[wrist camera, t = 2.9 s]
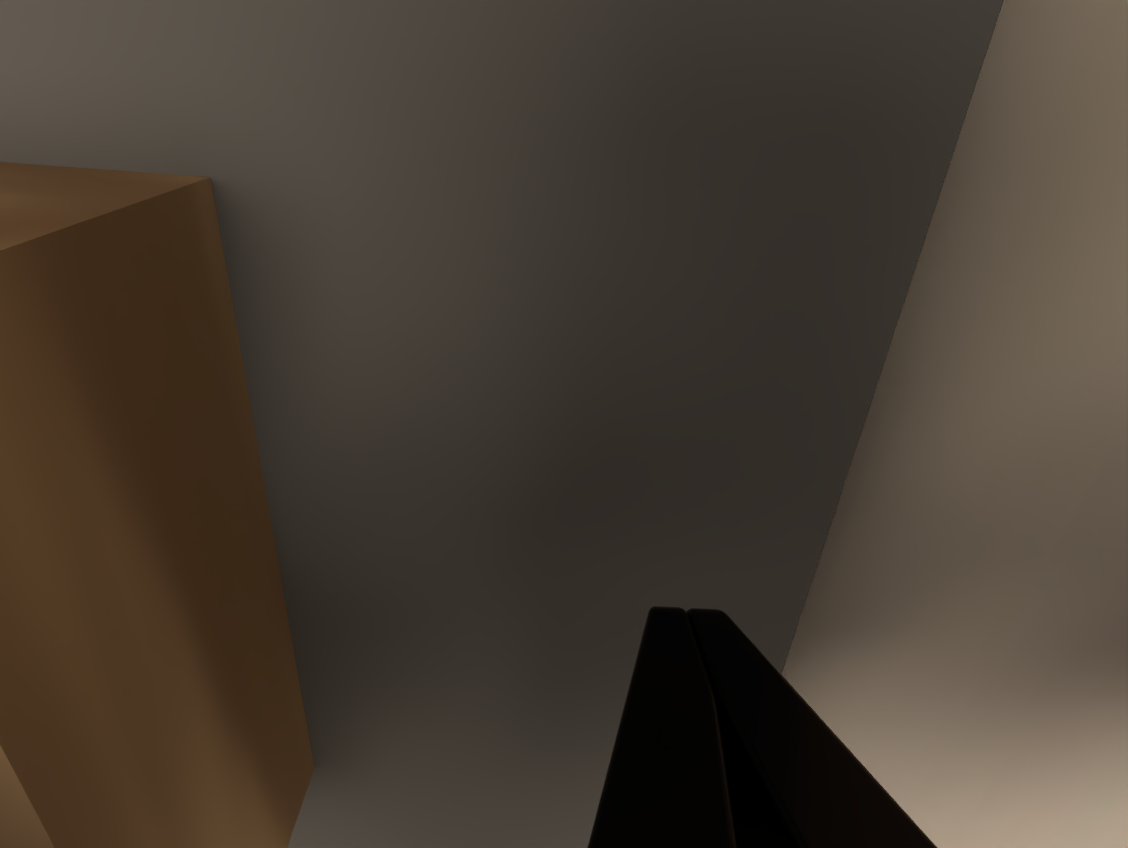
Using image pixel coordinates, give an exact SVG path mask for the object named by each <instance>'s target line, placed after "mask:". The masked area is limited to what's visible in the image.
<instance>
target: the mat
mask: <svg viewBox="0 0 1128 848" xmlns="http://www.w3.org/2000/svg"><path fill="white" fill-rule="evenodd" d="M1003 1H1004V0H0V162H7V163H20V164H34V165H48V166H62V167H76V168H90V169H104V170H118V171H132V172H146V173H160V174H174V175H188V176H202V177H210V180H211V185H212V191H213V197H214V202H215V208H216V214H217V219H218V225H219V231H220V236H221V242H222V248H223V253H224V259H225V265H226V270H227V276H228V282H229V287H230V293H231V299H232V304H233V310H234V316H235V321H236V327H237V333H238V338H239V344H240V350H241V355H242V361H243V367H244V372H245V378H246V384H247V389H248V395H249V401H250V406H251V412H252V418H253V423H254V429H255V434H256V440H257V446H258V451H259V457H260V463H261V468H262V474H263V480H264V485H265V491H266V497H267V502H268V508H269V514H270V519H271V525H272V531H273V536H274V542H275V548H276V553H277V559H278V565H279V570H280V576H281V582H282V587H283V593H284V599H285V604H286V610H287V616H288V621H289V627H290V633H291V638H292V644H293V650H294V655H295V661H296V667H297V672H298V678H299V684H300V689H301V695H302V701H303V706H304V712H305V718H306V723H307V729H308V735H309V740H310V746H311V752H312V757H313V763H314V771H313V773H312V776H311V779H310V782H309V785H308V788H307V791H306V794H305V797H304V800H303V803H302V806H301V809H300V812H299V815H298V818H297V820H296V823H295V826H294V829H293V832H292V835H291V838H290V841H289V844H288V847H287V848H588V844H589V840H590V836H591V832H592V828H593V824H594V820H595V817H596V813H597V809H598V805H599V801H600V797H601V793H602V790H603V786H604V782H605V778H606V774H607V770H608V766H609V763H610V759H611V755H612V751H613V747H614V743H615V739H616V735H617V732H618V728H619V724H620V720H621V716H622V712H623V708H624V705H625V701H626V697H627V693H628V689H629V685H630V681H631V677H632V674H633V670H634V666H635V662H636V658H637V654H638V650H639V647H640V643H641V639H642V635H643V631H644V627H645V623H646V619H647V616H648V612H649V610H650V608H651V607H654V606H660V607H680V608H683V609H684V610H685V611H687V610H689V609H691V608H703V609H719V610H722V611H723V612H725V613H726V614H727V615H728V616H729V617H730V618H731V619H732V620H733V621H734V623H735V624H736V625H737V626H738V627H739V628H740V629H741V630H742V631H743V633H744V634H745V635H746V636H747V637H748V638H749V639H750V640H751V641H752V643H753V644H754V645H755V646H756V647H757V648H758V649H759V650H760V651H761V653H762V654H763V655H764V656H765V657H766V658H767V659H768V660H769V661H770V663H771V664H772V665H773V666H774V667H775V668H776V669H777V670H778V671H779V673H780V674H781V673H782V670H783V667H784V664H785V661H786V658H787V655H788V652H789V649H790V646H791V643H792V640H793V637H794V634H795V631H796V628H797V625H798V622H799V619H800V616H801V613H802V610H803V607H804V604H805V601H806V598H807V595H808V592H809V589H810V586H811V582H812V579H813V576H814V573H815V570H816V567H817V564H818V561H819V558H820V555H821V552H822V549H823V546H824V543H825V540H826V537H827V534H828V531H829V528H830V525H831V522H832V519H833V516H834V513H835V510H836V507H837V504H838V501H839V498H840V495H841V492H842V489H843V486H844V482H845V479H846V476H847V473H848V470H849V467H850V464H851V461H852V458H853V455H854V452H855V449H856V446H857V443H858V440H859V437H860V434H861V431H862V428H863V425H864V422H865V419H866V416H867V413H868V410H869V407H870V404H871V401H872V398H873V395H874V392H875V389H876V386H877V382H878V379H879V376H880V373H881V370H882V367H883V364H884V361H885V358H886V355H887V352H888V349H889V346H890V343H891V340H892V337H893V334H894V331H895V328H896V325H897V322H898V319H899V316H900V313H901V310H902V307H903V304H904V301H905V298H906V295H907V292H908V289H909V286H910V282H911V279H912V276H913V273H914V270H915V267H916V264H917V261H918V258H919V255H920V252H921V249H922V246H923V243H924V240H925V237H926V234H927V231H928V228H929V225H930V222H931V219H932V216H933V213H934V210H935V207H936V204H937V201H938V198H939V195H940V192H941V189H942V186H943V182H944V179H945V176H946V173H947V170H948V167H949V164H950V161H951V158H952V155H953V152H954V149H955V146H956V143H957V140H958V137H959V134H960V131H961V128H962V125H963V122H964V119H965V116H966V113H967V110H968V107H969V104H970V101H971V98H972V95H973V92H974V89H975V86H976V82H977V79H978V76H979V73H980V70H981V67H982V64H983V61H984V58H985V55H986V52H987V49H988V46H989V43H990V40H991V37H992V34H993V31H994V28H995V25H996V22H997V19H998V16H999V13H1000V10H1001V7H1002V4H1003Z"/></svg>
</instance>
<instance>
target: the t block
mask: <svg viewBox="0 0 1128 848" xmlns="http://www.w3.org/2000/svg"><path fill="white" fill-rule="evenodd" d="M313 771H314V763H313V757H312V752H311V746H310V740H309V735H308V729H307V723H306V718H305V712H304V706H303V701H302V695H301V689H300V684H299V678H298V672H297V667H296V661H295V655H294V650H293V644H292V638H291V633H290V627H289V621H288V616H287V610H286V604H285V599H284V593H283V587H282V582H281V576H280V570H279V565H278V559H277V553H276V548H275V542H274V536H273V531H272V525H271V519H270V514H269V508H268V502H267V497H266V491H265V485H264V480H263V474H262V468H261V463H260V457H259V451H258V446H257V440H256V434H255V429H254V423H253V418H252V412H251V406H250V401H249V395H248V389H247V384H246V378H245V372H244V367H243V361H242V355H241V350H240V344H239V338H238V333H237V327H236V321H235V316H234V310H233V304H232V299H231V293H230V287H229V282H228V276H227V270H226V265H225V259H224V253H223V248H222V242H221V236H220V231H219V225H218V219H217V214H216V208H215V202H214V197H213V191H212V185H211V180H210V177H202V176H188V175H174V174H160V173H146V172H132V171H118V170H104V169H90V168H76V167H62V166H48V165H34V164H20V163H7V162H0V848H287V847H288V844H289V841H290V838H291V835H292V832H293V829H294V826H295V823H296V820H297V818H298V815H299V812H300V809H301V806H302V803H303V800H304V797H305V794H306V791H307V788H308V785H309V782H310V779H311V776H312V773H313Z"/></svg>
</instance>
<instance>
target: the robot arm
mask: <svg viewBox="0 0 1128 848" xmlns="http://www.w3.org/2000/svg"><path fill="white" fill-rule="evenodd" d="M588 848H937V847H936V846H935V845H934V844H933V843H932V841H931V840H930V839H929V838H928V837H927V836H926V835H925V834H924V833H923V831H922V830H921V829H920V828H919V827H918V826H917V825H916V824H915V823H914V821H913V820H912V819H911V818H910V817H909V816H908V815H907V814H906V813H905V811H904V810H903V809H902V808H901V807H900V806H899V805H898V804H897V803H896V801H895V800H894V799H893V798H892V797H891V796H890V795H889V794H888V793H887V791H886V790H885V789H884V788H883V787H882V786H881V785H880V784H879V783H878V781H877V780H876V779H875V778H874V777H873V776H872V775H871V774H870V773H869V771H868V770H867V769H866V768H865V767H864V766H863V765H862V764H861V763H860V761H859V760H858V759H857V758H856V757H855V756H854V755H853V754H852V753H851V751H850V750H849V749H848V748H847V747H846V746H845V745H844V744H843V743H842V741H841V740H840V739H839V738H838V737H837V736H836V735H835V734H834V733H833V731H832V730H831V729H830V728H829V727H828V726H827V725H826V724H825V723H824V721H823V720H822V719H821V718H820V717H819V716H818V715H817V714H816V713H815V711H814V710H813V709H812V708H811V707H810V706H809V705H808V704H807V703H806V701H805V700H804V699H803V698H802V697H801V696H800V695H799V694H798V693H797V691H796V690H795V689H794V688H793V687H792V686H791V685H790V684H789V683H788V681H787V680H786V679H785V678H784V677H783V676H782V675H781V674H780V673H779V671H778V670H777V669H776V668H775V667H774V666H773V665H772V664H771V663H770V661H769V660H768V659H767V658H766V657H765V656H764V655H763V654H762V653H761V651H760V650H759V649H758V648H757V647H756V646H755V645H754V644H753V643H752V641H751V640H750V639H749V638H748V637H747V636H746V635H745V634H744V633H743V631H742V630H741V629H740V628H739V627H738V626H737V625H736V624H735V623H734V621H733V620H732V619H731V618H730V617H729V616H728V615H727V614H726V613H725V612H723V611H722V610H719V609H703V608H691V609H689V610H687V611H685V610H684V609H683V608H680V607H660V606H654V607H651V608H650V610H649V612H648V616H647V619H646V623H645V627H644V631H643V635H642V639H641V643H640V647H639V650H638V654H637V658H636V662H635V666H634V670H633V674H632V677H631V681H630V685H629V689H628V693H627V697H626V701H625V705H624V708H623V712H622V716H621V720H620V724H619V728H618V732H617V735H616V739H615V743H614V747H613V751H612V755H611V759H610V763H609V766H608V770H607V774H606V778H605V782H604V786H603V790H602V793H601V797H600V801H599V805H598V809H597V813H596V817H595V820H594V824H593V828H592V832H591V836H590V840H589V844H588Z"/></svg>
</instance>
